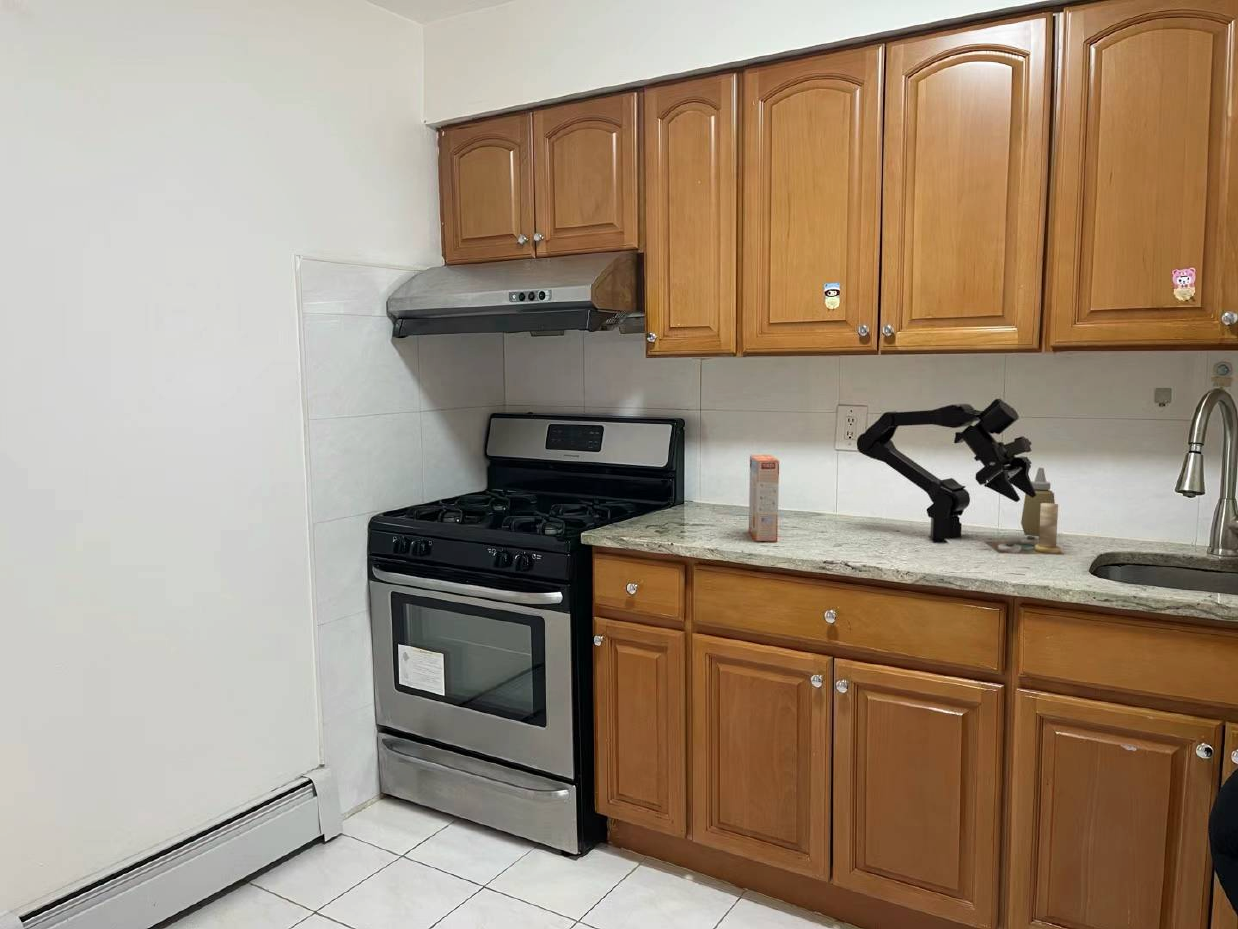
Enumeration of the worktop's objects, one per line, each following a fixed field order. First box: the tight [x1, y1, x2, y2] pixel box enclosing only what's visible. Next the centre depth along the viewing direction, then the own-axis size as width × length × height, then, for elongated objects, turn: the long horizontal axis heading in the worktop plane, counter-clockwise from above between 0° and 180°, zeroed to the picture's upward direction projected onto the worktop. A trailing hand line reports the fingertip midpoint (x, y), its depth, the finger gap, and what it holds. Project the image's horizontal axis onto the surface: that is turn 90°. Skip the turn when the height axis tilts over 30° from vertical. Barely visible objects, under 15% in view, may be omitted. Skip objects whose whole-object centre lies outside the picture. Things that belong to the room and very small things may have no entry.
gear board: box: [983, 535, 1065, 556], centre depth 209 cm, size 14×14×3 cm
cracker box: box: [748, 454, 780, 543], centre depth 229 cm, size 14×6×21 cm, turn 179°
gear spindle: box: [1035, 503, 1061, 555], centre depth 204 cm, size 5×5×11 cm
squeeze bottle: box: [1020, 467, 1056, 537], centre depth 225 cm, size 8×8×18 cm
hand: (1026, 498), depth 208 cm, fingers open, 9 cm apart
